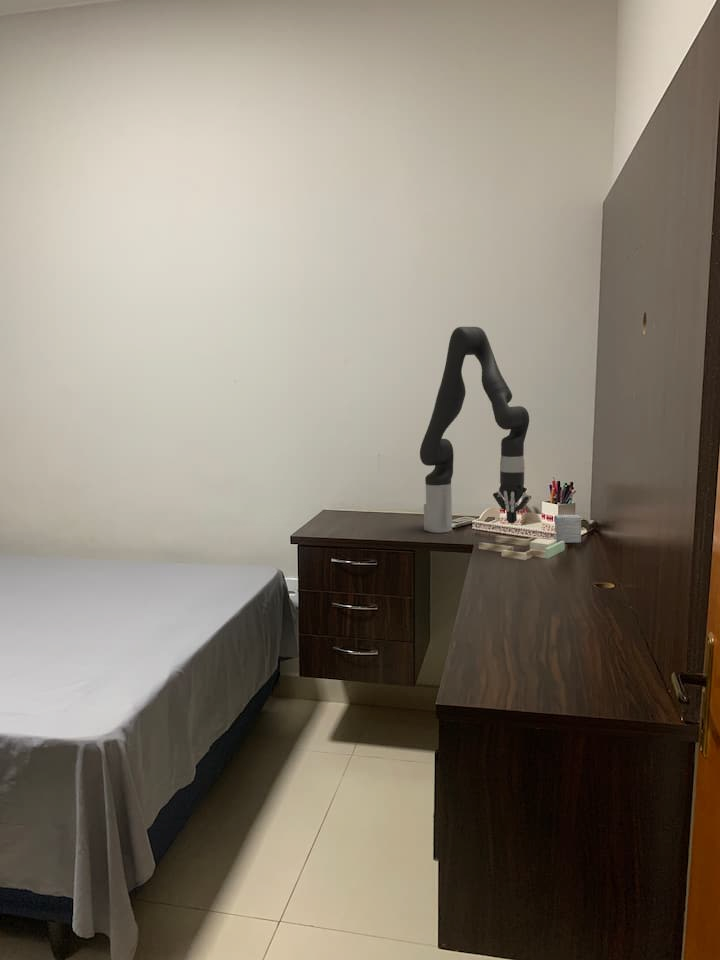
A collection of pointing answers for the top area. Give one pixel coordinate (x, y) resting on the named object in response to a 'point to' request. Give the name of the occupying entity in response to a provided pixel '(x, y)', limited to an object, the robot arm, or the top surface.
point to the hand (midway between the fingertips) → (511, 522)
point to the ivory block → (541, 544)
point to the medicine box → (568, 528)
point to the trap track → (509, 550)
